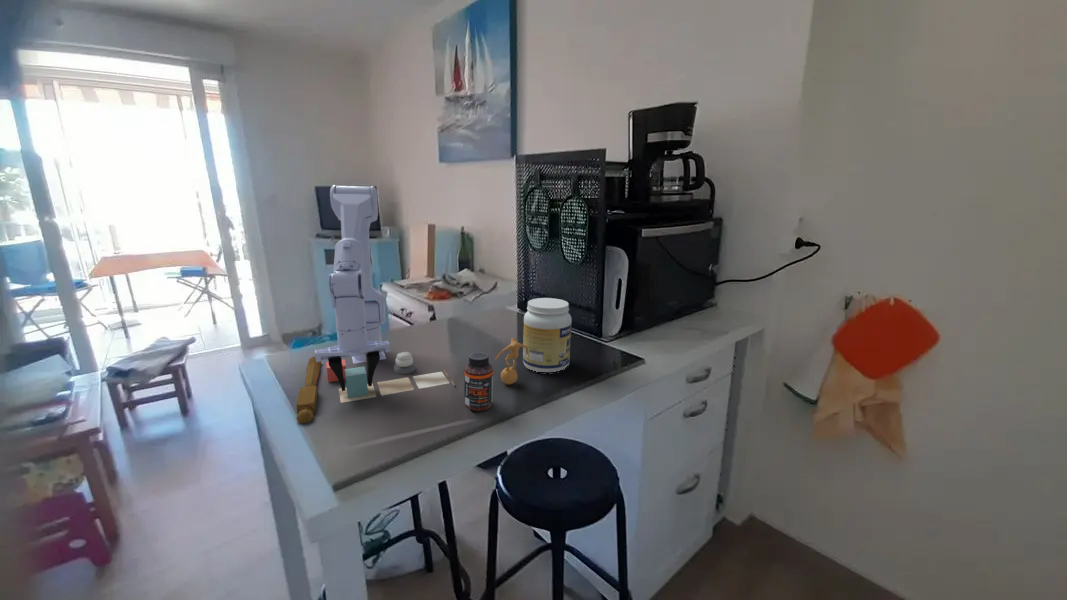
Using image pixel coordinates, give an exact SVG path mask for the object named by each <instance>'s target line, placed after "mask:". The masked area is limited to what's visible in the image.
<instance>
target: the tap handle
mask: <svg viewBox="0 0 1067 600" xmlns="http://www.w3.org/2000/svg"><path fill="white" fill-rule="evenodd" d="M321 366H322V361H321V362H316V358H315V356H311V357H310V358H309V359H308V362H307V367H306V371H305V372H306V373H305V383H304V386H303V387H300V388H299V391H298V397H297V401H296V415H297V416H296V420H297V422H298V424H308V423H310V422H312V421H313V419H314V418H313V417H314V414H316V409H317V400H318V396H319V395H318V394H319V393H318V387H317V384H318V381H319V378H320V377H319V376H320V372H321Z"/></svg>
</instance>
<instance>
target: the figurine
mask: <svg viewBox="0 0 1067 600" xmlns="http://www.w3.org/2000/svg"><path fill="white" fill-rule="evenodd" d="M510 339H511V340H510V344H509V345H508V346H506V347H504V348H503V349H502V350H501V351H500V352H499V353H498V354H497V356H496V357H495V361H496V360H497V358H499V357H500V356H501V355H503V353H504V352H506V351H508V350H509V351H510V353H507V356H506V357H505V362H506V365H507V367H504V369H502V370H501V372H500V379H501V382H503V384H505V385H513V384H514V383H516V381H517V379H518V375H519V374H518V371H517V370H516V369H515V368H516V364H517V361H516V359H517V358H518V357H519V350H520V348H522V349H523V348H526V354H528V347H527V346H526V345H523V343H520V342H518V341H517V340H516V338H515V337H511V338H510ZM511 359H512V363H513V365H512V366H510V365H511V363H510V360H511Z"/></svg>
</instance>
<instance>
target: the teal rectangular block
mask: <svg viewBox="0 0 1067 600" xmlns="http://www.w3.org/2000/svg"><path fill="white" fill-rule="evenodd" d="M345 378H346V380H345V388H347V395H348V398H353V397H358V396H364V395H368V387H367V384H368V382H367V369H366V367H365V365H364V366H359V367H351V368H350V367H349V368H346V369H345Z"/></svg>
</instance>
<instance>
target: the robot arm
mask: <svg viewBox="0 0 1067 600" xmlns="http://www.w3.org/2000/svg"><path fill="white" fill-rule="evenodd" d="M329 197H330V198H329V200H330V207H331V209H332V211H333V212H334V213H333V214H335V216H336V217H337V219H338V221H340V231H341V239H340V240H338V241H337V242H336V243H335V245H334V246H335V247H334V258H333V270H332V271H333V272H332V273H329V275H328V291H329V295H330V298H331V305H332V308H334V316H335V325H336V326H335V328H336V336H337V337H336V338H337V345H334V346H330V347H326V348H320V349H314V357H315V358H316V362H321V363H322V361H325V360H327V362H329V366H330V368H331V369H332V370H333V372H334V373H335V375H336V376H337V378H338V380H339V381H338V382H339V385H340V389H341V388H342V391H346V390H345V388H346V381H345V380H344V377H343V368H342V360H343V359H342V358H347V357H351V360H352V364H361V363H366V374H367V384H368V386H372V383H373V378H374V374H375V371H376V368H377V367H378V364H379V362H380V360H386V359H387V357H386V355H385V353H390V352H391V344H390V342H389V340H384V341H383V337H382V324H384V323H385V322H386V320H387V315H386V314H387V313H386V311H387V310H386V309H387V308H386V302H385V296H384V294H383V293H382V292H381V291H380V290H378V289H377V288H375V287H374V286H373V279H372V277H373V275H372V261H371V244H370V243H371V242H370V228H371V223H373V222H376V221H377V220H378V216H379V209H378V208H379V204H378V203H379V201H378V192H377V188H376V187H375V186H374V185H371V186H369V185H368V186H367V185H366V186H361V185H359V186H357V185H336V184H333V185H332V186H330V190H329Z"/></svg>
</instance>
